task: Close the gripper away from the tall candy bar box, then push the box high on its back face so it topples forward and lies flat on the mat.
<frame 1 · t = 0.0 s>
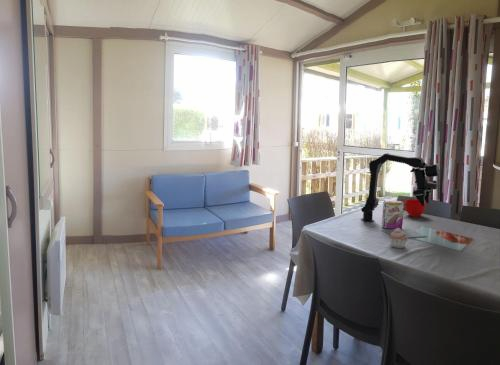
hand: (425, 204, 229), 15 cm above the table, tool pointing down, fingers open, 9 cm apart
candy bar box: (391, 228, 236), on the table
ceramic cup: (411, 216, 266), on the table
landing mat: (403, 233, 224), on the table
cupcake: (397, 246, 202), on the table
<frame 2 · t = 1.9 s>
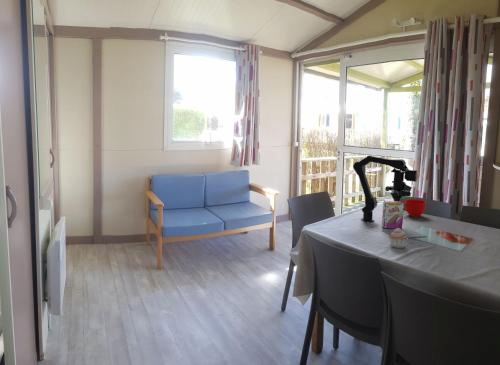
hand: (396, 204, 241), 13 cm above the table, tool pointing down, fingers closed
nothing on the table moved.
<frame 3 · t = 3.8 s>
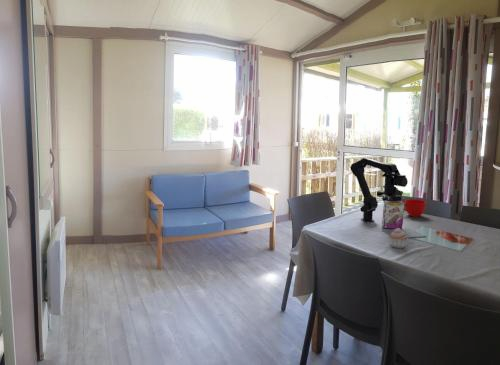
hand: (388, 209, 239), 10 cm above the table, tool pointing down, fingers closed
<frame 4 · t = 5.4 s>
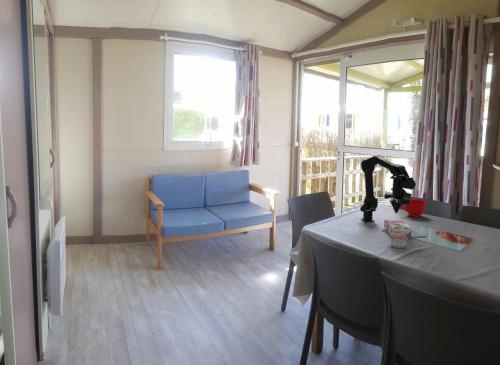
hand: (396, 212, 231), 10 cm above the table, tool pointing down, fingers closed
candy bar box: (393, 224, 233), point 3 cm above the table, touching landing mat
everything else where it was.
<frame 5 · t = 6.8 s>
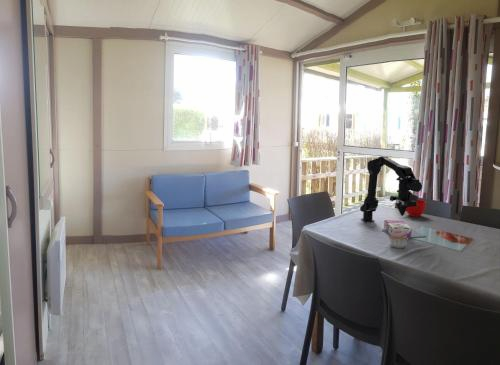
hand: (402, 215, 225), 10 cm above the table, tool pointing down, fingers closed
nothing on the table moved.
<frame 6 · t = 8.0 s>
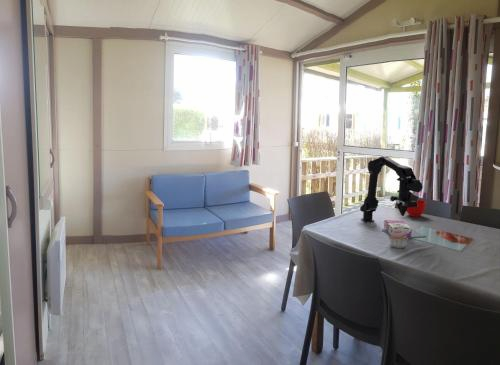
hand: (402, 215, 224), 10 cm above the table, tool pointing down, fingers closed
nothing on the table moved.
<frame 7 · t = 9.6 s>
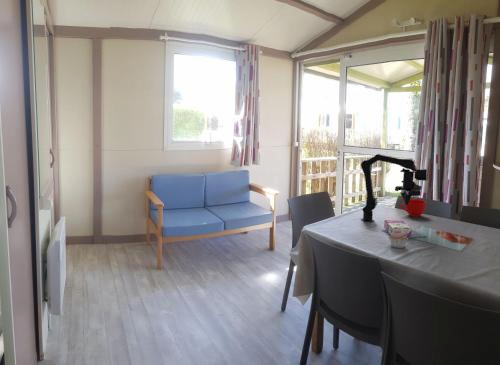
hand: (406, 204, 241), 13 cm above the table, tool pointing down, fingers closed
nothing on the table moved.
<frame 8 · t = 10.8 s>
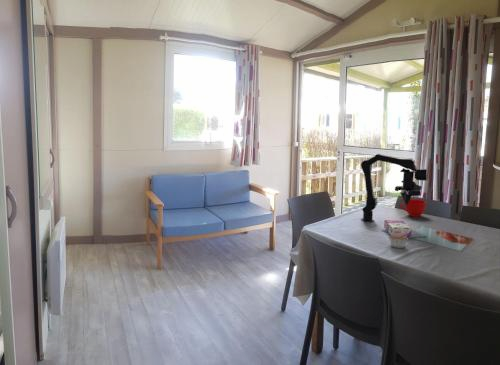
hand: (406, 204, 241), 13 cm above the table, tool pointing down, fingers closed
nothing on the table moved.
at the end: candy bar box tilted 89°; candy bar box touching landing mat; the gripper is holding nothing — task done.
